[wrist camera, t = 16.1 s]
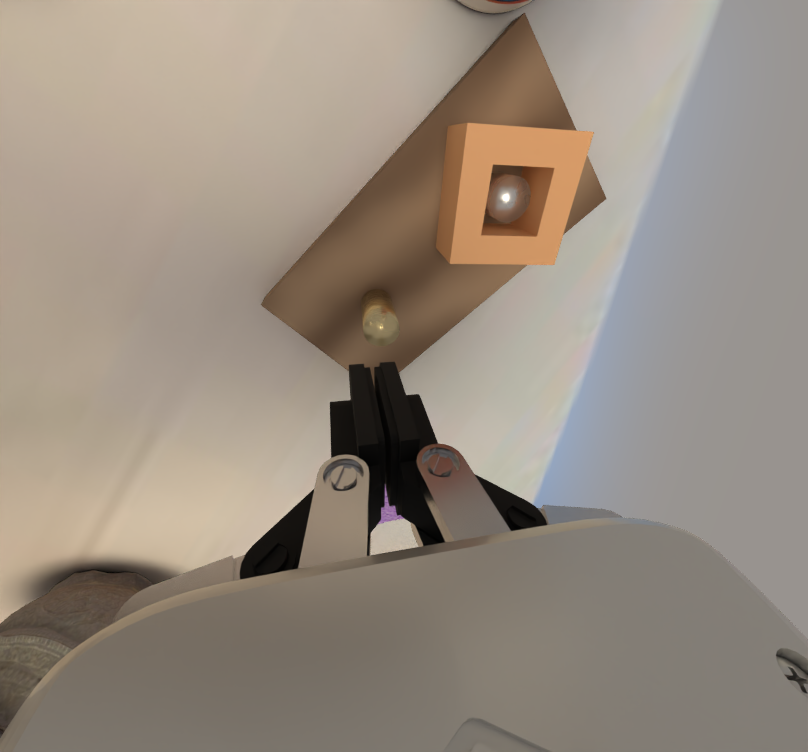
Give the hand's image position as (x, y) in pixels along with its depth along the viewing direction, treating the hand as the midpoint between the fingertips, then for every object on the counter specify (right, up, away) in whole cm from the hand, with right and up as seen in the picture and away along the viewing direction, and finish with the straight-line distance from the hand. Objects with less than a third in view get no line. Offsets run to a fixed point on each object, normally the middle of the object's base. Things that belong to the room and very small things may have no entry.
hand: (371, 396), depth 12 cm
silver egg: (+7, +13, +10) cm, 18 cm away
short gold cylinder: (-1, +6, +13) cm, 15 cm away
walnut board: (+3, +10, +13) cm, 17 cm away
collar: (+7, +13, +10) cm, 18 cm away
